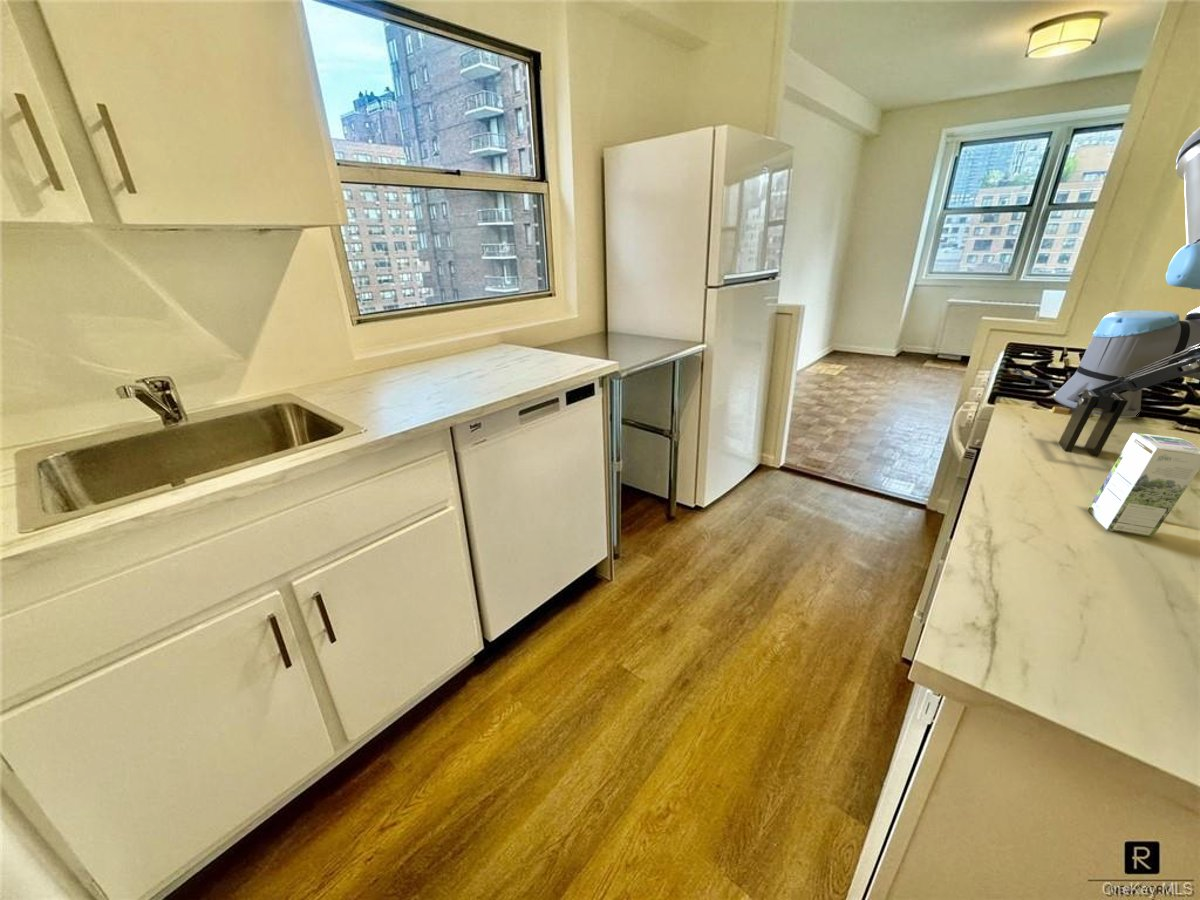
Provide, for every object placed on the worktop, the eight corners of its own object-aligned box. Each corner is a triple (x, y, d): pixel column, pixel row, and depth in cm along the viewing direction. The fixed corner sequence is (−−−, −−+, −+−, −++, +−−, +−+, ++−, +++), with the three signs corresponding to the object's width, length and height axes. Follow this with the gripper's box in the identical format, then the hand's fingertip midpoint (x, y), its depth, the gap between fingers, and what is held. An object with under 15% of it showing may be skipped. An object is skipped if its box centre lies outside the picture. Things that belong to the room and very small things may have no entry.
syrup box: (1130, 517, 77) (1181, 435, 70) (1154, 539, 72) (1211, 453, 65) (1086, 510, 79) (1131, 430, 72) (1106, 531, 74) (1157, 447, 67)
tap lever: (1050, 415, 104) (1052, 404, 104) (1086, 421, 101) (1089, 409, 101) (1082, 405, 91) (1086, 393, 91) (1125, 411, 88) (1128, 399, 88)
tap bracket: (1040, 440, 102) (1067, 383, 96) (1095, 450, 98) (1127, 390, 92) (1052, 460, 94) (1083, 399, 88) (1113, 471, 90) (1149, 408, 84)
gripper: (1276, 361, 77) (1088, 423, 96) (1270, 347, 85) (1097, 407, 104) (1245, 322, 78) (1065, 391, 97) (1242, 311, 86) (1076, 377, 105)
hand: (1082, 399), depth 100 cm, fingers closed
